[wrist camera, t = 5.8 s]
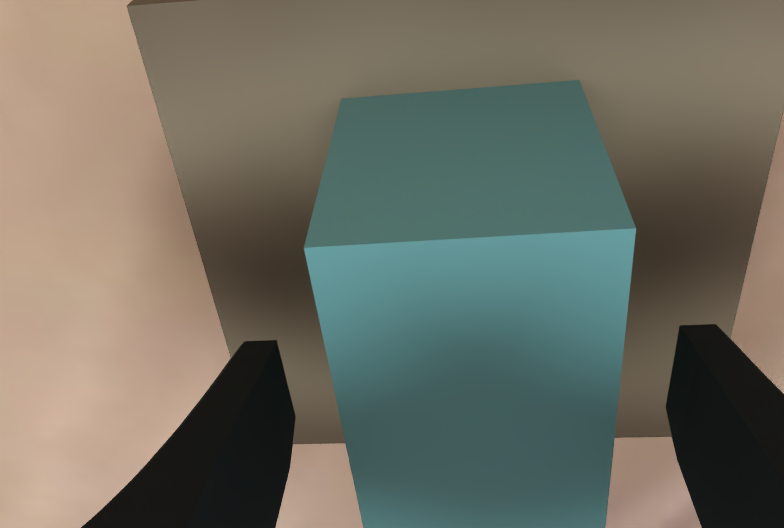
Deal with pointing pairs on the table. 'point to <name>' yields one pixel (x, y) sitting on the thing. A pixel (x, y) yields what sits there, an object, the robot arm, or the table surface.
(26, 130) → the table surface
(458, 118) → the teal brick
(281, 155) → the walnut base brick
